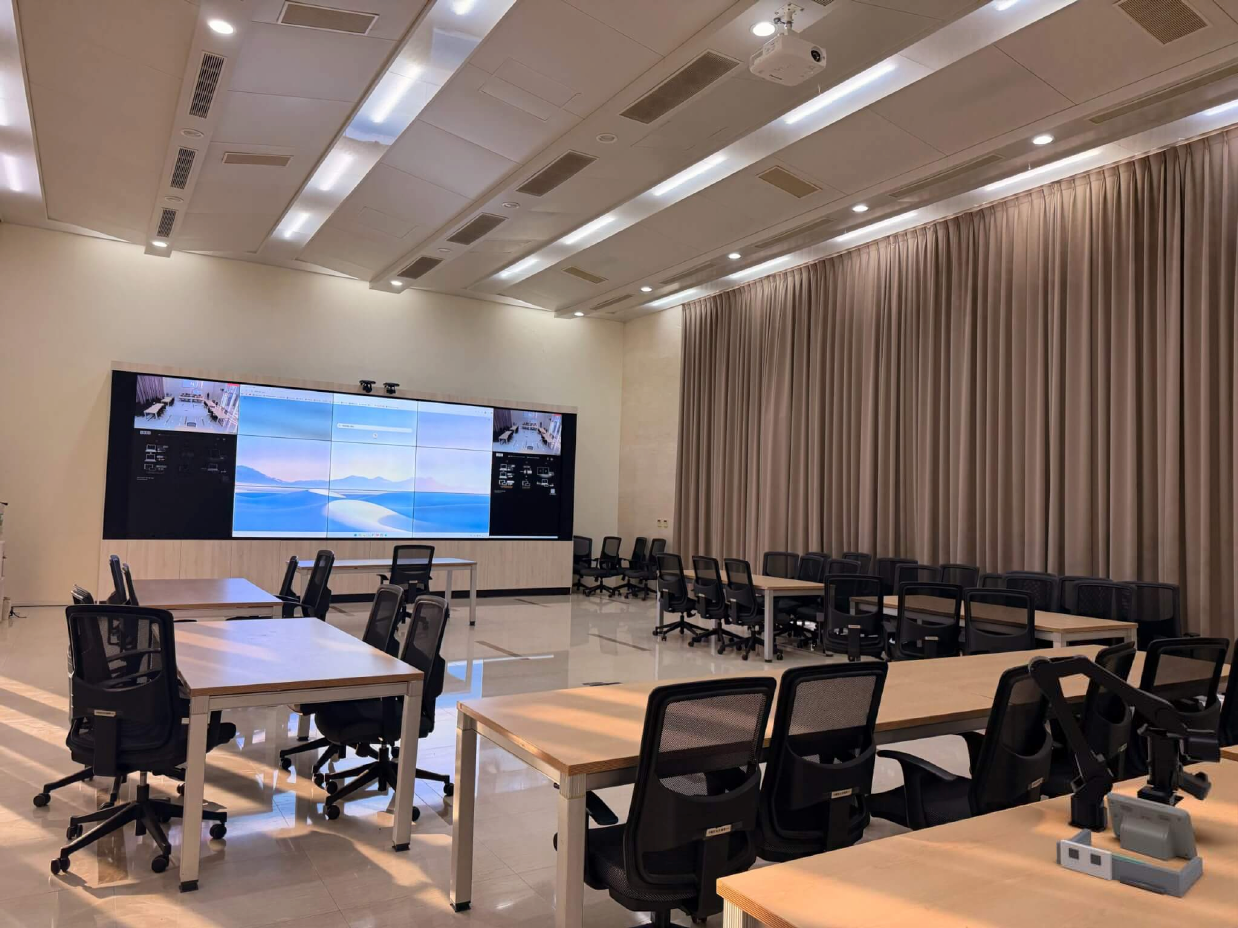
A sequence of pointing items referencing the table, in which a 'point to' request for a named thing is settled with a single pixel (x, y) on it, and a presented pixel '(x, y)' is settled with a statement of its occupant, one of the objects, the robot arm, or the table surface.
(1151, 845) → the digital clock
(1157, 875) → the gray bracket
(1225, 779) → the table surface
